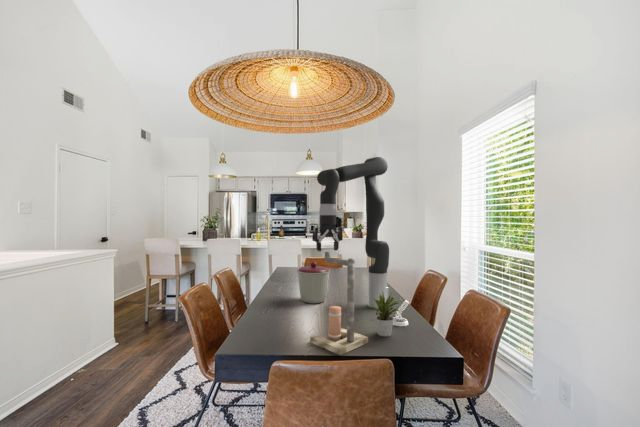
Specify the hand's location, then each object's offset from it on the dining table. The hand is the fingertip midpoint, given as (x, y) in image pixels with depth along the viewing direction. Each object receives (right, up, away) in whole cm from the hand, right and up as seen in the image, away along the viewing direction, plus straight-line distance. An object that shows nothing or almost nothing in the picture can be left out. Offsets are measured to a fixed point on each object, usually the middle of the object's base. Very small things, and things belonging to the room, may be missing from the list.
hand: (327, 250), depth 140 cm
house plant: (+21, -30, -20) cm, 42 cm away
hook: (+31, -31, -6) cm, 44 cm away
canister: (-7, -31, +28) cm, 42 cm away
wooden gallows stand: (+3, -30, -27) cm, 40 cm away
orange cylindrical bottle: (+2, -30, -25) cm, 39 cm away
